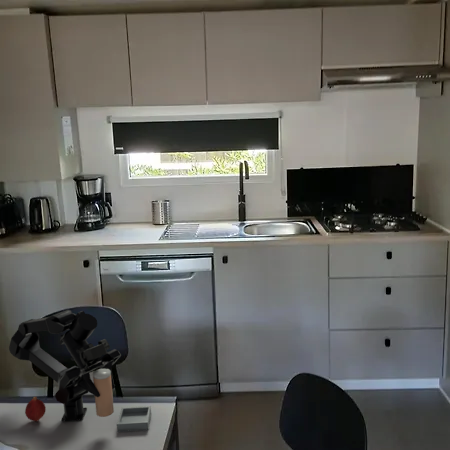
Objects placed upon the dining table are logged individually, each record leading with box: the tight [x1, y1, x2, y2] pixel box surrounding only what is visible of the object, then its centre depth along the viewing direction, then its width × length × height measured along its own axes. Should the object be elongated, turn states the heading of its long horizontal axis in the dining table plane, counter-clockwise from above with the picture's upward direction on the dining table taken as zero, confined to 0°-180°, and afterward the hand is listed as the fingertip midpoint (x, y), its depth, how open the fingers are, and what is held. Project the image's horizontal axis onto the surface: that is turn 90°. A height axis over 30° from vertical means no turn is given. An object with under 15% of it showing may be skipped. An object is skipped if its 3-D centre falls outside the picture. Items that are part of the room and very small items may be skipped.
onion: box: [24, 396, 47, 422], centre depth 155 cm, size 6×6×8 cm
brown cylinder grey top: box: [92, 368, 115, 418], centre depth 147 cm, size 5×5×12 cm
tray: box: [116, 405, 152, 433], centre depth 153 cm, size 9×9×2 cm
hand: (106, 392), depth 146 cm, fingers closed on brown cylinder grey top, 5 cm apart
